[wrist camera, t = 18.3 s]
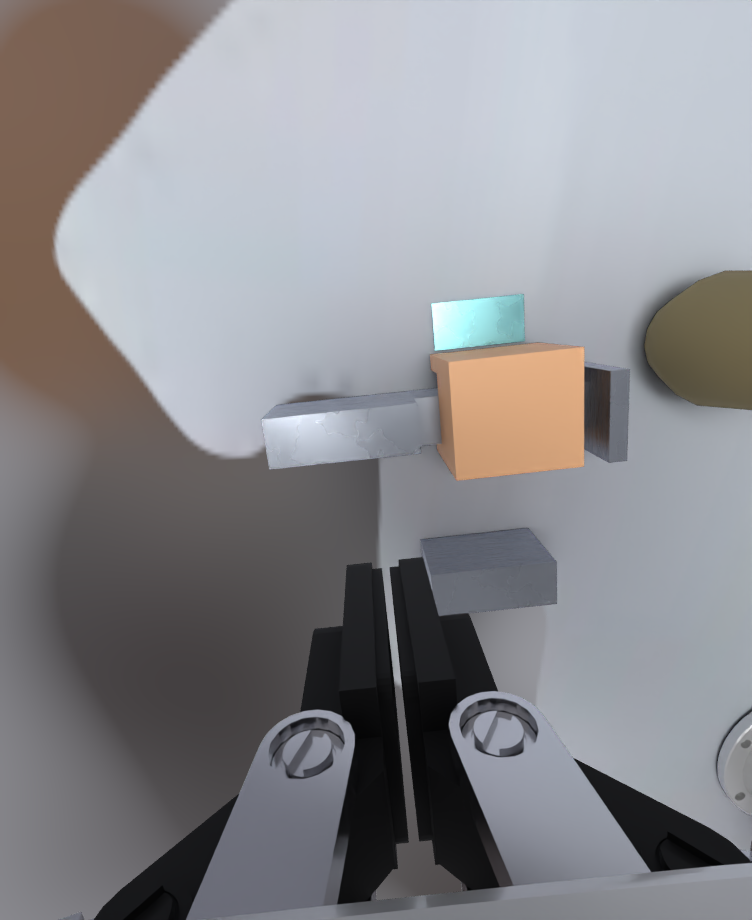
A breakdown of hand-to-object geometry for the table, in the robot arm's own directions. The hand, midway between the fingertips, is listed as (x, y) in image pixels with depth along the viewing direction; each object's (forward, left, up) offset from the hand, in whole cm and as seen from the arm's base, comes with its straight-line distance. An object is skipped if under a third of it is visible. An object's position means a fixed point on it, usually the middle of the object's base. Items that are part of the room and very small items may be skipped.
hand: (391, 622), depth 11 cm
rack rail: (+2, -4, -25) cm, 25 cm away
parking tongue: (-11, -7, -25) cm, 28 cm away
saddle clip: (+1, -8, -23) cm, 25 cm away
